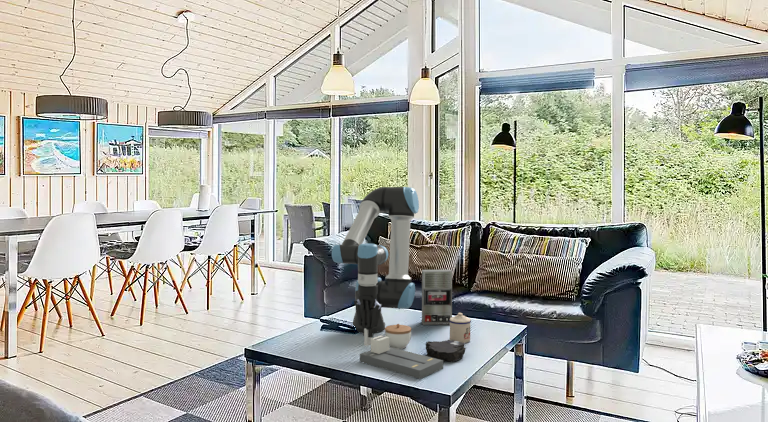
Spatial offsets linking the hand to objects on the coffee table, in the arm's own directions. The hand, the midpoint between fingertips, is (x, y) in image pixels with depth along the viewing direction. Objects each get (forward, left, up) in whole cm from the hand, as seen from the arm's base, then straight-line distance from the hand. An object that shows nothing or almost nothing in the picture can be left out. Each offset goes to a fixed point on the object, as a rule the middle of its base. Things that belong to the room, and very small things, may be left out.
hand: (368, 344), depth 222 cm
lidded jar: (+1, +17, -5) cm, 18 cm away
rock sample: (+22, +20, -5) cm, 30 cm away
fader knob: (+6, 0, -1) cm, 6 cm away
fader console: (+16, 0, -5) cm, 17 cm away
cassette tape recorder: (-8, +57, -5) cm, 58 cm away
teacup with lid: (+15, +42, -5) cm, 45 cm away
